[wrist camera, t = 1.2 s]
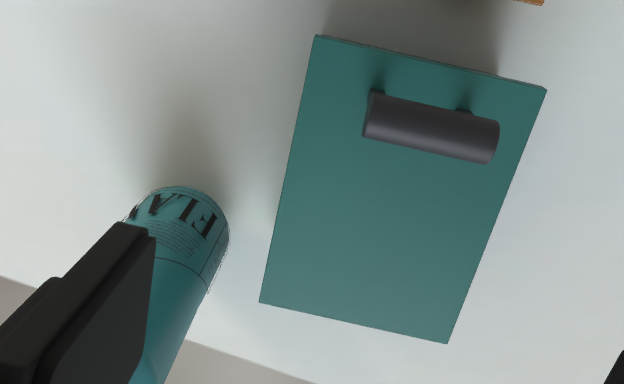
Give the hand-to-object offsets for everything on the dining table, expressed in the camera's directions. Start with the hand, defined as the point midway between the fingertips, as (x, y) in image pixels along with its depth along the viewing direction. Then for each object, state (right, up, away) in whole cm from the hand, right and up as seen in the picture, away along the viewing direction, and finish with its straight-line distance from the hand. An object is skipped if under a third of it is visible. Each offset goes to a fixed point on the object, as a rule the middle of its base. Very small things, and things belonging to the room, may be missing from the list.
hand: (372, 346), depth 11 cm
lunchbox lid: (+3, +3, +17) cm, 17 cm away
